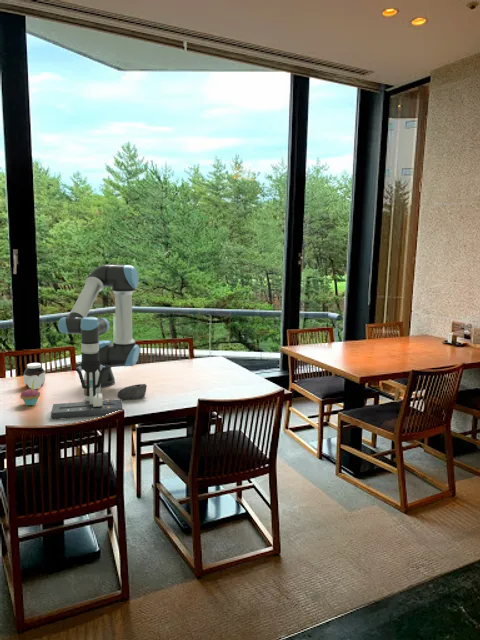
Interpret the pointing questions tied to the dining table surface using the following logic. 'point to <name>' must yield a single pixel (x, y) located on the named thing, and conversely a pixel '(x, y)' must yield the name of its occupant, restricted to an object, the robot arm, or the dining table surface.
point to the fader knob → (97, 400)
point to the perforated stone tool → (132, 392)
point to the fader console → (84, 409)
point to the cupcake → (30, 396)
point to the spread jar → (34, 375)
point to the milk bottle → (91, 384)
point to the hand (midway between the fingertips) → (91, 402)
